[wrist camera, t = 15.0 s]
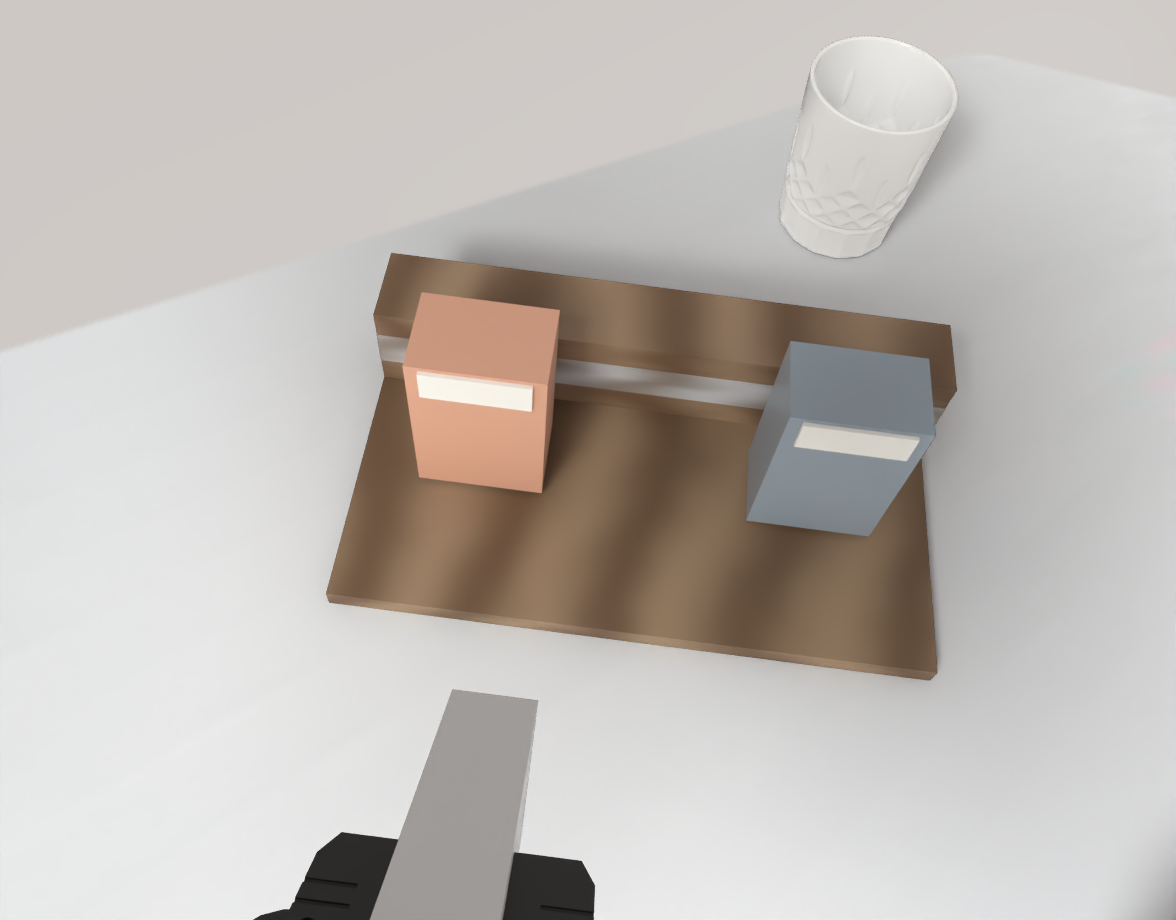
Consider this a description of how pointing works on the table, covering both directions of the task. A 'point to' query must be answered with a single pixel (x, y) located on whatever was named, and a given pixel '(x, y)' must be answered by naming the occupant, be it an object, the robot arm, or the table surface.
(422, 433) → the salmon orange box
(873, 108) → the white cup
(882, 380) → the blue gray box
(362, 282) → the table surface
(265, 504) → the table surface
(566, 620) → the wooden display shelf
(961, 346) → the table surface
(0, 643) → the table surface
